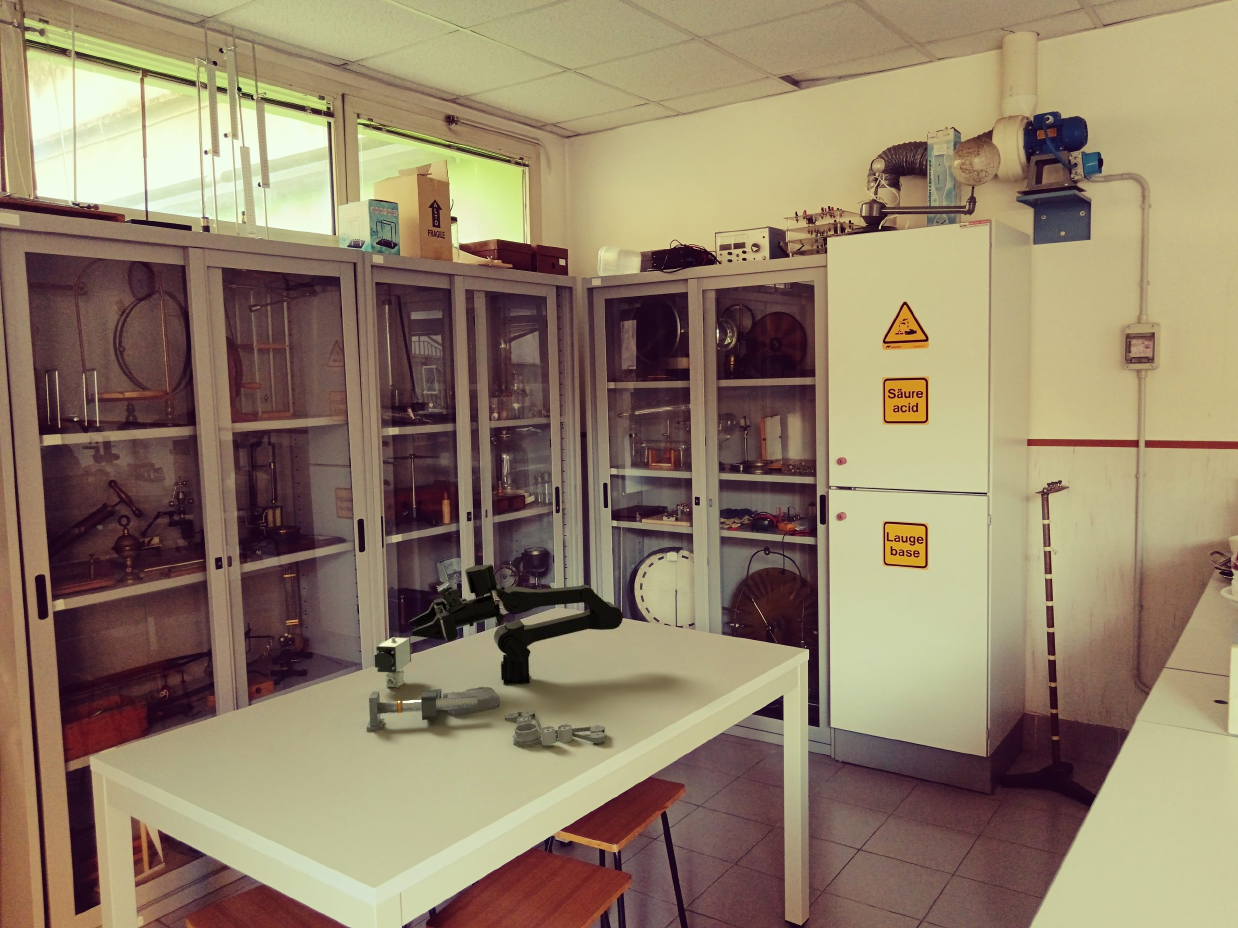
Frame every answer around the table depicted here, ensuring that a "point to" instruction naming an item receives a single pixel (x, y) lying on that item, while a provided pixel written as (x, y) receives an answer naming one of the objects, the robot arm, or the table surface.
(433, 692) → the collar
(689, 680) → the table surface
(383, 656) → the pneumatic valve
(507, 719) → the pulley system
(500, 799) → the table surface
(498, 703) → the stone block
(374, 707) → the linear shaft assembly
